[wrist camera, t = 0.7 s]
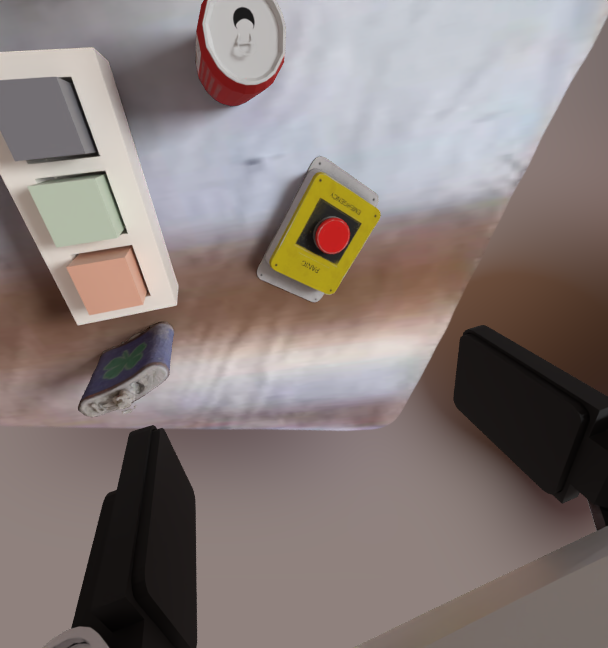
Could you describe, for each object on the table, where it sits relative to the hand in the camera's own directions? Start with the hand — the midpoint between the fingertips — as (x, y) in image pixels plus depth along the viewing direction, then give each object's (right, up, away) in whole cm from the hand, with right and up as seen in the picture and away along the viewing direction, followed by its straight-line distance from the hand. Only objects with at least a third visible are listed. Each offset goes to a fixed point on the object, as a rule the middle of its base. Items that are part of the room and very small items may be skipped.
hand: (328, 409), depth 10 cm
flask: (-20, 0, +29) cm, 35 cm away
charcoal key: (-20, +18, +15) cm, 30 cm away
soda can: (-8, +25, +19) cm, 33 cm away
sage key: (-19, +13, +18) cm, 29 cm away
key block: (-20, +14, +21) cm, 32 cm away
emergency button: (+1, +13, +30) cm, 32 cm away
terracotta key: (-18, +8, +21) cm, 29 cm away
